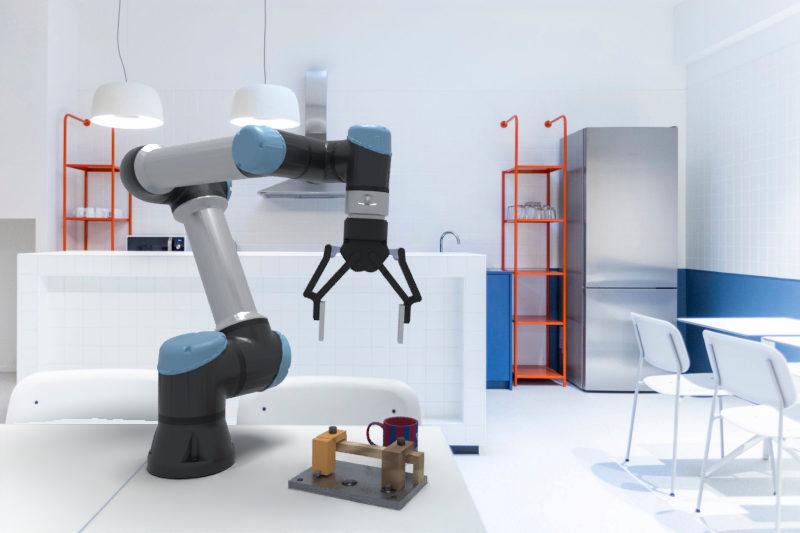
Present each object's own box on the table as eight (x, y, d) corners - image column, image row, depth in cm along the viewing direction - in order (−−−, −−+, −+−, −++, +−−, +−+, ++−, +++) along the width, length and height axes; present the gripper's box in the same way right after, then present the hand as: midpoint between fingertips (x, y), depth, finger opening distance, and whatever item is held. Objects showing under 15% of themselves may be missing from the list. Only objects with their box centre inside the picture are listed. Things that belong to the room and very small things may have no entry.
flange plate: (288, 487, 100) (288, 480, 100) (324, 464, 111) (325, 457, 111) (399, 510, 92) (399, 501, 92) (427, 482, 103) (427, 475, 103)
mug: (412, 464, 112) (413, 427, 112) (361, 458, 115) (362, 422, 114) (421, 452, 118) (421, 418, 118) (372, 447, 121) (373, 413, 121)
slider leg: (308, 474, 102) (308, 434, 101) (331, 460, 109) (332, 422, 109) (323, 477, 100) (324, 437, 100) (346, 462, 108) (346, 424, 108)
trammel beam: (298, 474, 102) (298, 434, 102) (321, 460, 110) (321, 422, 109) (407, 495, 95) (408, 451, 94) (424, 478, 102) (425, 437, 101)
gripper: (290, 213, 98) (285, 342, 100) (441, 220, 101) (435, 347, 102) (294, 214, 106) (289, 334, 107) (435, 221, 108) (429, 339, 109)
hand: (360, 341), depth 104 cm, fingers open, 13 cm apart
